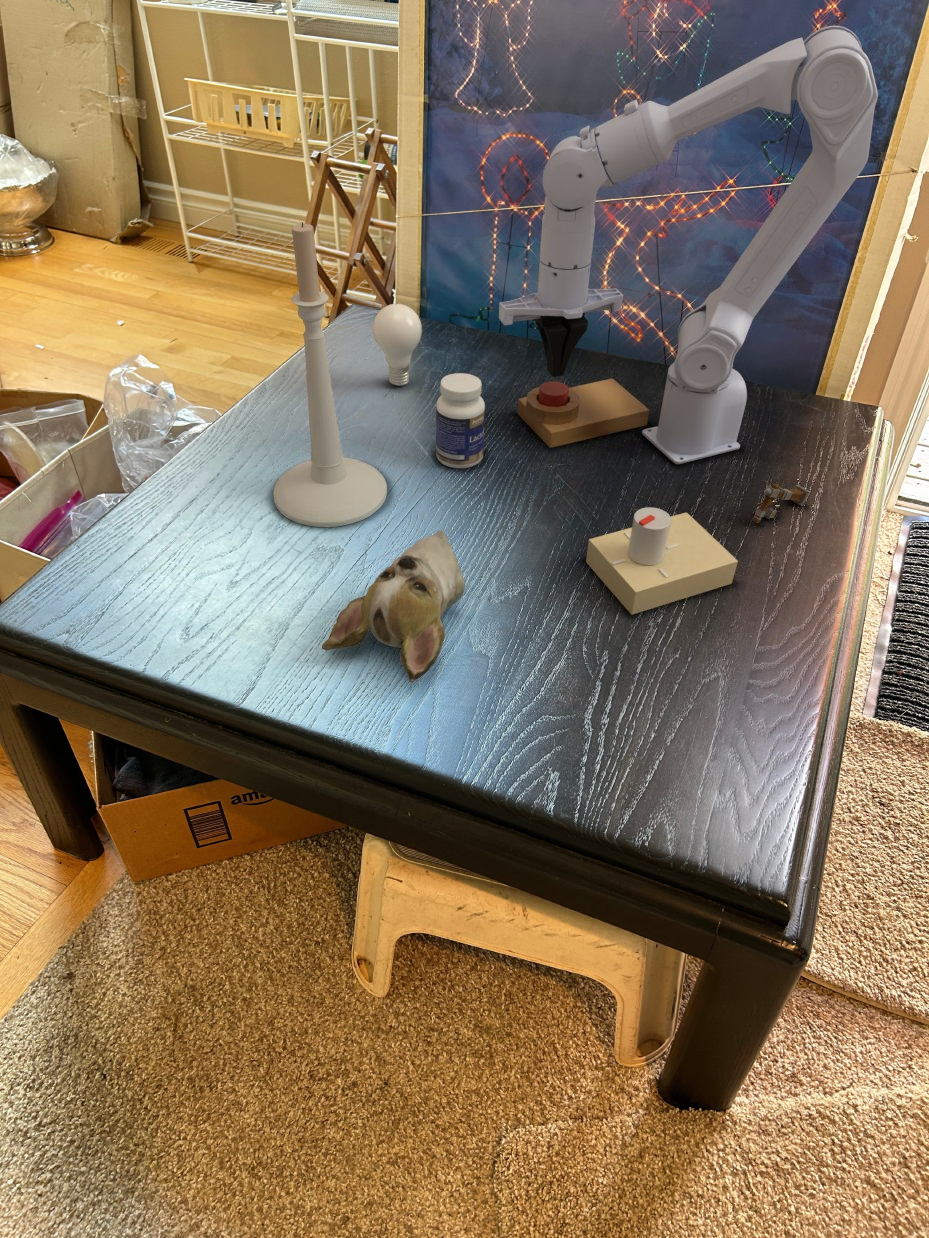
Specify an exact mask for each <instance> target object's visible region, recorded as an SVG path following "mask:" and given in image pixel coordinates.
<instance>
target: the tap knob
mask: <svg viewBox="0 0 929 1238" xmlns="http://www.w3.org/2000/svg"><path fill="white" fill-rule="evenodd" d="M671 517H672V516H670V513H668V512H667V511H665V510H663V509H661V508H658V507H651V506H649V507H643V508H640V509H637V510H636V511H635V512H634V515H633V520H632V525H631V528H632V531H631V537H630V542H629V548H628V555H629V557H630V558H631V560H633V561H634V562H636V563H638V564H641V565H647V566H650V565H656V564H658V563H660V562H661V561H662V560H663V559H664V554H665V550H666V545H667V540H668V535H669V530H670V526H671Z"/></svg>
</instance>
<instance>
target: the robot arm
mask: <svg viewBox="0 0 929 1238" xmlns="http://www.w3.org/2000/svg"><path fill="white" fill-rule="evenodd" d="M878 98H879V92H878V88H877V84H876V79H875V74H874V71H873V66H872V63H871V60H870V59H869V57H868V55H867V54H866V53H865V52H864V50H863V46H862V43H861V41H860V39H859V37H858V36H857V34H856V33H854V32H853V31H852V30H851V29H849V28H847V27H844V26H842V25H829V26H824V27H822V28H819V29H817V30H815V31H814V32H813V33H811V34H810V35H809V36H808V37H806V38H805V39H804V38H803V37H799V38H796V39H792V40H790V41H787V42H785V43H783V44H781V45H779V46H778V47H774V48H773V49H771V50H769V51H767V52H765V53H763V54H761V55H760V56H758V57H756V58H753V59H752V60H751V61H749V62H747V63H745V64H743V65H741V66H739V67H738V68H736V69H734V70H732V71H730V72H729V73H727V74H725V75H723V76H721V77H720V78H717V79H715V80H714V81H712V82H710V83H708V84H707V85H704V86H703V87H701V88H699V89H697V90H696V91H693V92H692V93H690V94H688V95H686V96H684V97H682V98H681V99H679V100H677V101H675V102H674V103H671V104H670V105H663V104H660V103H657V102H655V101H653V100H647V101H645V102H643V103H641V104H639V102H638V100H637V99H634V100H632V101H630V102H628V103H626V104H625V105H624V107H623V113H621V114H620V115H618V116H616V117H614V118H612V119H609V120H607V121H605V122H604V123H602V124H600V125H598V126H596V127H593V128H592V129H591V126H590V125H586V126H585V127H583V128H581V129H580V130H579V136H578V135H573V136H572V135H571V136H568V137H566V138H563V139H562V140H561V141H560V142H559V143H558V144H556V145H555V147H554V149H553V150H552V152H551V154H550V156H549V157H548V160H547V162H546V164H545V166H544V169H543V172H542V179H541V180H542V181H541V182H542V188H543V192H544V194H545V197H544V203H543V207H544V213H543V215H542V219H541V233H540V234H541V235H540V247H539V266H538V277H537V279H538V280H537V292H533V293H530V294H527V295H524V296H521V297H517V298H515V299H512V300H506V301H500V302H499V304H498V305H499V306H498V320H499V321H500V322H501V323H502V324H503V326H511V325H513V324H514V322H521V321H530V320H531V321H532V320H533V321H534V323H535V326H536V327H537V330H538V333H539V336H540V339H541V342H542V345H543V349H544V355H545V360H546V370H547V372H548V373H549V374H550V375H551V377H553V378H557V377H562V376H563V377H564V374H565V372H566V369H567V366H568V363H569V361H570V358H571V356H572V354H573V351H574V349H575V348H576V346H577V345H578V343H579V341H580V340H581V338H582V337H583V336H584V334H586V332H587V331H588V328H589V319H587V318H586V317H585V315H586V313H593V312H601V311H609V310H611V312H621V311H622V308H623V300H624V294H623V293H622V292H621V291H620V290H619V289H617V288H615V287H614V288H589V285H590V275H591V267H592V258H593V249H594V248H593V247H594V240H595V239H594V238H595V231H596V230H595V229H596V216H595V210H596V199H597V193H598V191H599V190H600V188H611V187H613V186H615V185H617V184H620V183H621V182H624V181H626V180H628V179H630V178H632V177H634V176H636V175H639V174H641V173H643V172H646V171H647V170H649V169H651V168H653V167H655V166H658V165H660V164H662V163H664V162H666V161H668V160H669V159H670V157H671V155H672V153H673V151H674V148H675V145H676V144H677V142H679V141H680V140H683V139H685V138H687V137H689V136H693V135H694V134H696V133H699V132H702V131H703V130H706V129H708V128H711V127H713V126H716V125H718V124H720V123H723V122H725V121H727V120H729V119H732V118H735V117H737V116H740V115H741V114H744V113H746V112H748V111H750V110H751V111H752V110H753V109H757V108H761V109H765V110H770V111H773V112H777V113H781V114H785V115H791V112H792V111H791V109H792V101H797V104H798V107H799V109H800V111H801V113H802V115H803V117H804V118H805V121H806V122H807V124H808V126H809V133H810V139H811V146H812V150H811V153H810V155H809V156H808V157H807V159H806V161H805V162H804V163H803V165H802V166H801V168H800V169H799V171H798V173H796V175H795V176H794V178H793V180H792V181H791V183H790V184H789V186H788V187H787V188H786V190H785V191H784V193H782V196H781V197H780V199H779V200H778V201H777V203H776V204H775V206H774V207H773V208H772V210H771V212H769V215H768V216H767V218H766V219H765V221H764V222H763V223H762V225H761V226H760V227H759V229H758V231H757V232H756V233H755V235H754V237H752V239H751V241H750V242H749V244H748V245H747V247H746V248H745V250H743V252H742V254H741V255H740V257H739V259H738V260H737V261H736V263H734V266H733V267H732V269H731V270H730V271H729V272H728V274H727V276H726V277H725V278H724V280H723V281H722V283H721V285H720V286H719V287H718V288H716V289H714V290H713V291H712V292H710V293H709V294H708V295H707V297H706V299H705V300H704V301H703V302H702V303H701V304H700V305H699V306H698V307H696V308H694V309H693V310H691V311H688V313H687V314H686V315H685V316H683V318H682V320H681V321H680V323H679V325H678V328H677V350H676V357H675V360H674V361H673V363H671V364H670V365H669V367H668V369H667V373H666V381H665V387H664V392H663V398H662V402H661V408H660V414H659V419H658V424H657V426H654V427H648V428H645V429H642V430H641V435H642V436H643V437H645V439H647V440H648V441H649V442H650V443H651V444H652V445H653V446H655V448H657V449H658V450H659V451H660V452H661V453H662V454H663V455H665V457H667V458H668V459H669V460H670V461H671V462H672V463H673V464H675V465H682V464H686V463H690V462H693V461H699V460H702V459H705V458H710V457H713V456H717V455H720V454H721V455H722V454H725V453H730V452H733V451H737V450H739V449H740V448H741V444H740V443H739V442H738V441H737V440H738V436H739V433H740V429H741V425H742V420H743V417H744V412H745V409H746V405H747V400H748V391H747V384H746V382H745V380H744V378H743V376H742V375H741V373H740V372H739V371H737V370H736V369H734V368H733V367H734V361H735V357H736V355H737V353H738V352H739V350H740V349H741V347H743V346H744V345H743V344H744V342H745V340H746V338H747V335H748V334H749V333H748V332H749V329H750V327H751V325H752V322H753V321H754V319H755V316H756V315H757V314H758V313H759V311H761V309H762V308H763V306H764V305H765V303H766V302H767V301H768V299H769V298H770V297H771V295H772V293H773V292H774V291H775V290H776V288H777V287H778V286H779V284H780V283H781V281H782V280H783V279H784V277H785V276H786V275H787V273H788V272H789V271H790V269H791V268H792V266H794V264H795V262H796V261H798V260H797V259H798V258H799V257H800V256H801V254H802V253H803V251H804V250H805V249H806V248H807V246H808V245H809V243H810V242H811V241H812V239H813V238H814V236H815V235H816V234H817V233H818V232H819V230H820V228H821V227H822V225H823V224H824V223H825V221H826V220H827V219H828V217H829V216H830V215H831V214H832V212H834V210H835V208H836V207H837V206H838V204H839V203H840V201H841V200H842V199H843V197H844V196H845V194H846V193H847V192H848V190H849V189H850V188H851V187H852V185H853V183H854V182H855V181H856V180H857V178H858V177H859V176H860V174H861V172H862V171H863V170H864V169H865V166H866V164H867V163H868V159H869V155H870V147H871V138H872V132H873V122H874V115H875V108H876V106H877V105H876V104H877V101H878Z"/></svg>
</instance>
